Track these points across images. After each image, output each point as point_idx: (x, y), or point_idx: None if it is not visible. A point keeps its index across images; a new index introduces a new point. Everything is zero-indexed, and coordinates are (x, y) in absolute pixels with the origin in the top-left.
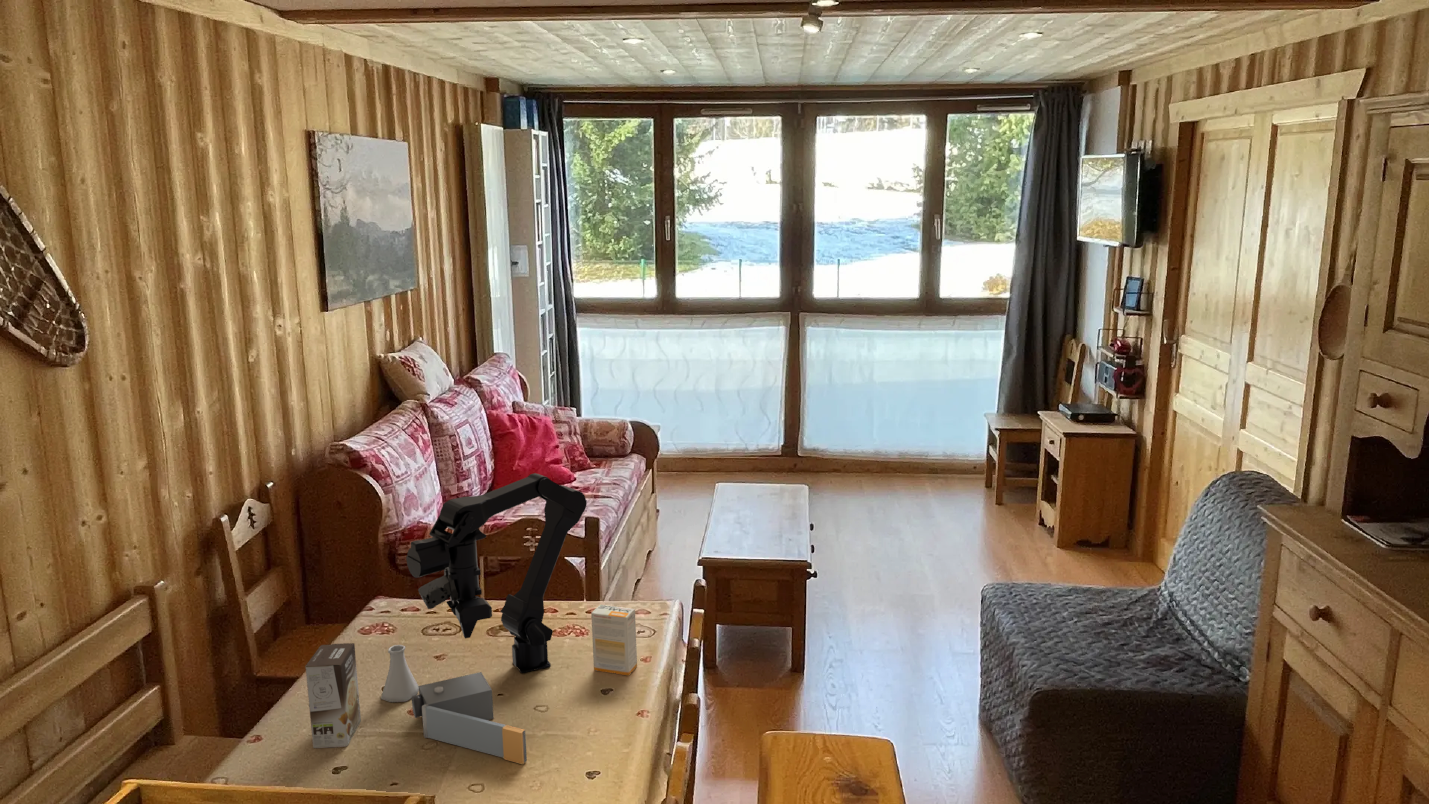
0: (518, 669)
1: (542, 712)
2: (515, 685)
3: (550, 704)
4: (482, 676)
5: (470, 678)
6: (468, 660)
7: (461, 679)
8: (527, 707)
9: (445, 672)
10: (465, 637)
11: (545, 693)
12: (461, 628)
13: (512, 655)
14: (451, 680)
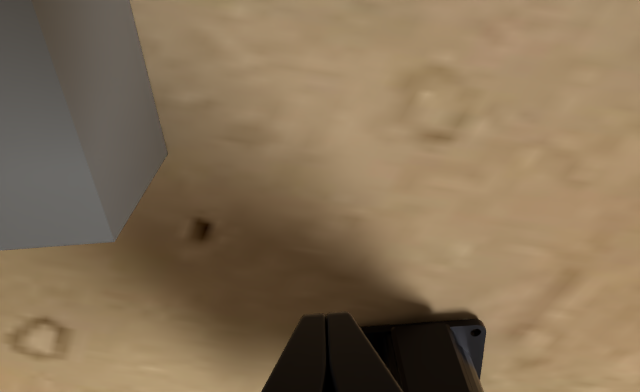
0: (390, 325)
1: (4, 336)
2: (263, 292)
3: (65, 366)
4: (40, 240)
5: (22, 167)
6: (626, 154)
7: (12, 105)
8: (55, 300)
9: (573, 16)
10: (299, 326)
11: (157, 366)
12: (366, 382)
13: (454, 349)
14: (7, 25)
